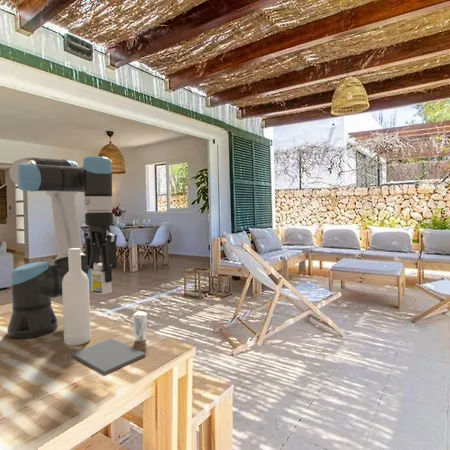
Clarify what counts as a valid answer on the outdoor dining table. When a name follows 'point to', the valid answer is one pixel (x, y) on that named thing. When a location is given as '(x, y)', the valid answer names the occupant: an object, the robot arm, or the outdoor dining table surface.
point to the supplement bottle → (97, 278)
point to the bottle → (76, 302)
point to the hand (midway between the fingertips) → (101, 291)
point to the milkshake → (140, 325)
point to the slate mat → (108, 355)
